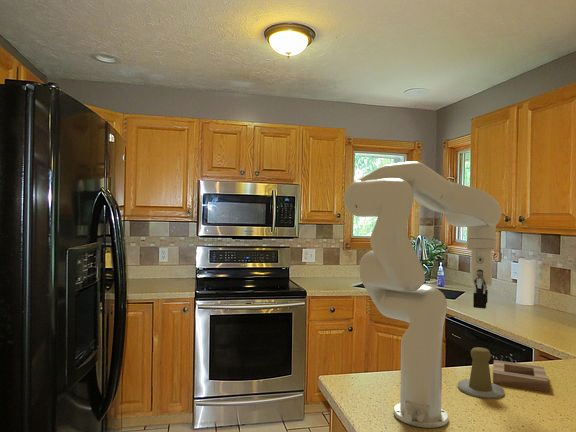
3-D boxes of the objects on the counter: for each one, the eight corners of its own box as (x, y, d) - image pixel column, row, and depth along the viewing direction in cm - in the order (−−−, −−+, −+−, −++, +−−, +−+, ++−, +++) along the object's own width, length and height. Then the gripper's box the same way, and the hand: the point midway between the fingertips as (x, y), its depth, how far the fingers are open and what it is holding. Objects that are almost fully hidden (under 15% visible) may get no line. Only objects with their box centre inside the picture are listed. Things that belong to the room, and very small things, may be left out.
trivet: (504, 401, 111) (504, 398, 111) (455, 393, 117) (455, 390, 117) (504, 387, 122) (504, 384, 122) (459, 379, 128) (459, 376, 128)
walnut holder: (547, 392, 119) (547, 381, 119) (492, 382, 125) (492, 372, 125) (543, 376, 131) (543, 367, 131) (493, 369, 138) (493, 359, 138)
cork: (471, 390, 117) (471, 350, 117) (466, 382, 123) (467, 344, 123) (494, 392, 116) (495, 352, 116) (489, 384, 121) (489, 346, 122)
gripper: (495, 246, 111) (494, 311, 111) (496, 244, 127) (495, 302, 126) (464, 245, 115) (463, 308, 114) (469, 244, 130) (468, 299, 129)
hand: (480, 305), depth 120 cm, fingers open, 9 cm apart
